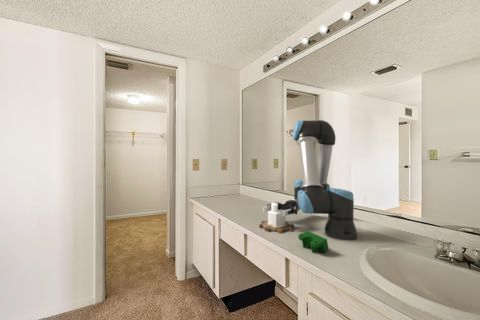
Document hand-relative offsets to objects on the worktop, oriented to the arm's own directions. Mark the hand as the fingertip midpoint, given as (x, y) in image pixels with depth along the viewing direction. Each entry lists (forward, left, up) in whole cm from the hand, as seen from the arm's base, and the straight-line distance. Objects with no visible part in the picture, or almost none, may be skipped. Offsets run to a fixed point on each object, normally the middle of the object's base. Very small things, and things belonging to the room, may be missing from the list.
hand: (273, 211), depth 115 cm
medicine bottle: (0, -3, -8) cm, 9 cm away
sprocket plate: (0, -3, -9) cm, 10 cm away
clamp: (-27, +11, -10) cm, 31 cm away
